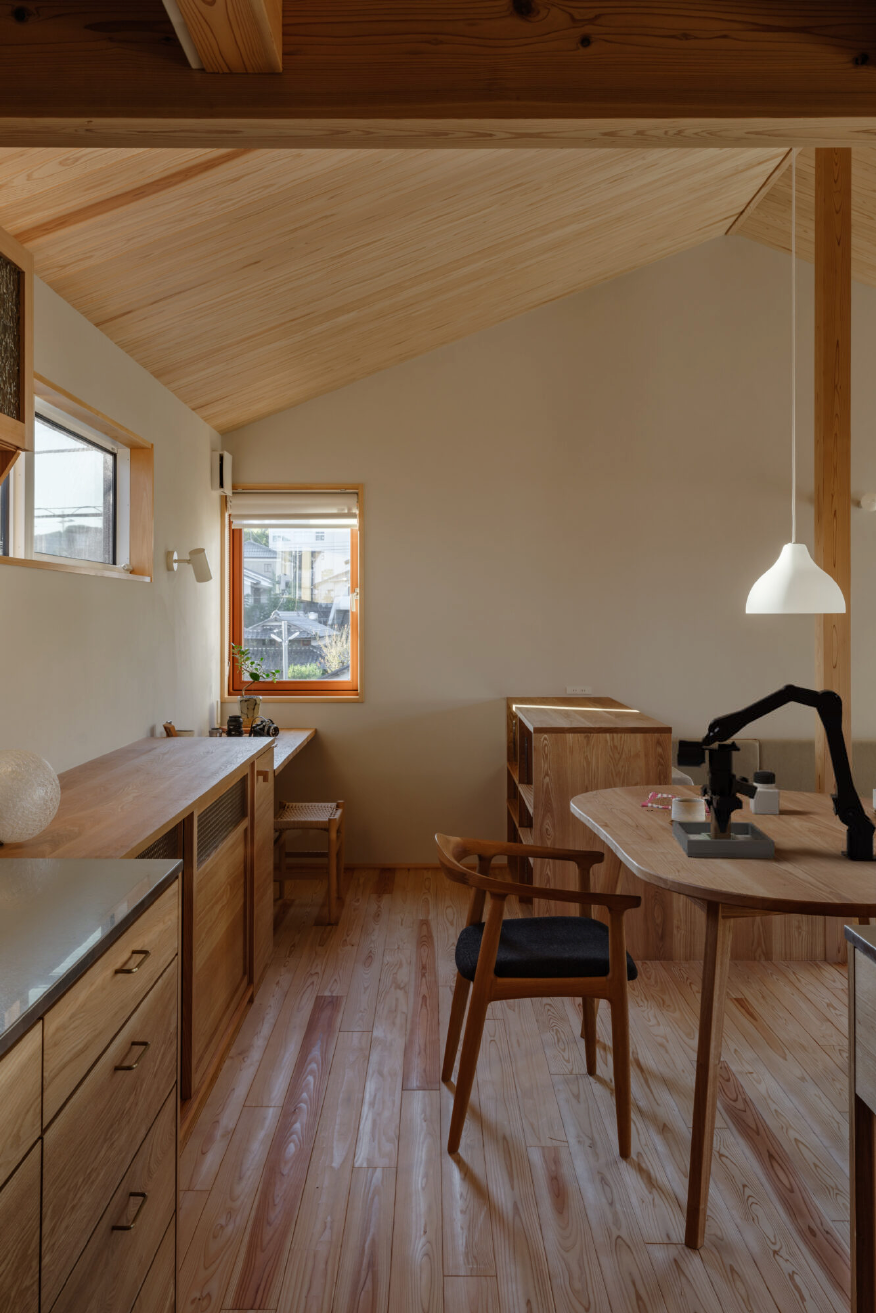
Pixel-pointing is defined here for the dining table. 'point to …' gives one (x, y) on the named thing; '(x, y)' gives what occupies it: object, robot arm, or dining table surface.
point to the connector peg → (716, 832)
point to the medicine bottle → (765, 794)
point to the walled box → (723, 841)
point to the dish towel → (655, 796)
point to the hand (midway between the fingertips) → (720, 830)
